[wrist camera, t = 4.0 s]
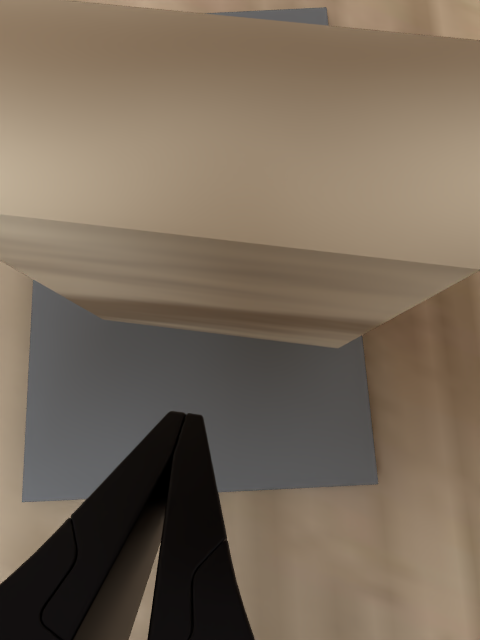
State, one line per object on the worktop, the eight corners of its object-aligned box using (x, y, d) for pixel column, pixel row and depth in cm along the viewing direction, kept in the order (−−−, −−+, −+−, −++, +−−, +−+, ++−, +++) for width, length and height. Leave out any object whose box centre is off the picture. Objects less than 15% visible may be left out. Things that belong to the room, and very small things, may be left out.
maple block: (337, 348, 17) (480, 269, 7) (103, 319, 17) (-101, 202, 7) (346, 238, 18) (484, 22, 8) (123, 213, 18) (-31, -26, 8)
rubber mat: (374, 481, 17) (378, 484, 16) (28, 499, 17) (22, 501, 16) (324, 16, 21) (326, 7, 20) (50, 30, 21) (46, 21, 20)
